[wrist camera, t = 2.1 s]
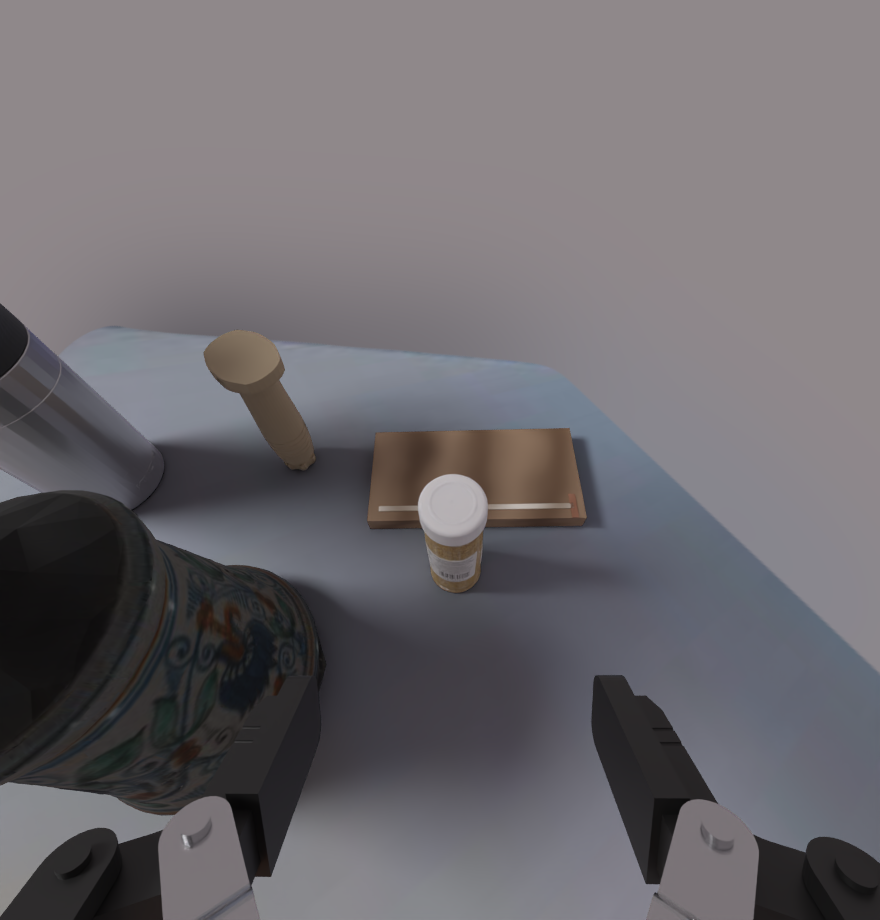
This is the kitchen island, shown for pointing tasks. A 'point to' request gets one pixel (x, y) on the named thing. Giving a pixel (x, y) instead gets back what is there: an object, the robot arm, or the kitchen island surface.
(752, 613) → the kitchen island surface
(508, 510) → the walnut board
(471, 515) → the sprinkles bottle
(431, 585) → the kitchen island surface
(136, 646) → the beer stein
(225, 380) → the handle
